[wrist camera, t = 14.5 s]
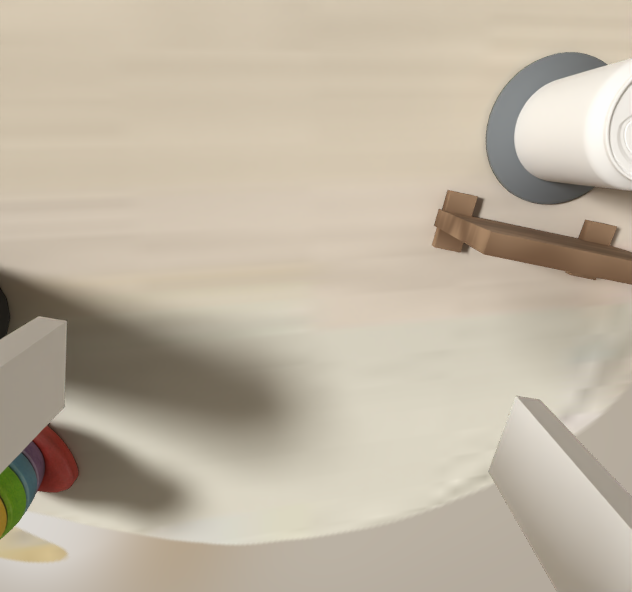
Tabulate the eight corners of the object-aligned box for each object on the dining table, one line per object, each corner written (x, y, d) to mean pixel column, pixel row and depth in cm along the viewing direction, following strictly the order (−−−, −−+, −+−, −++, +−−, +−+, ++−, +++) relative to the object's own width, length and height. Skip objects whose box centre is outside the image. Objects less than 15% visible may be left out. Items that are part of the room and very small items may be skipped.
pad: (512, 37, 36) (515, 36, 36) (650, 71, 37) (654, 70, 37) (467, 188, 40) (469, 188, 39) (594, 215, 41) (597, 216, 40)
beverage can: (491, 128, 38) (571, 118, 26) (573, 56, 36) (696, 11, 25) (545, 200, 40) (641, 220, 28) (624, 134, 38) (761, 127, 27)
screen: (444, 189, 40) (500, 204, 28) (613, 225, 41) (732, 254, 29) (428, 244, 41) (475, 279, 30) (592, 277, 42) (697, 324, 31)
